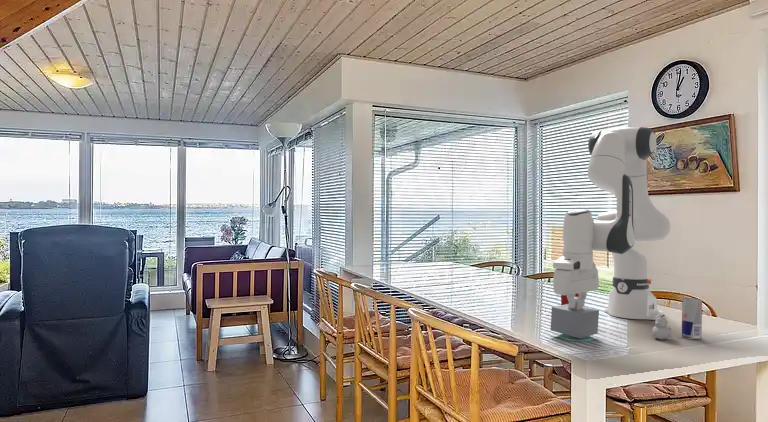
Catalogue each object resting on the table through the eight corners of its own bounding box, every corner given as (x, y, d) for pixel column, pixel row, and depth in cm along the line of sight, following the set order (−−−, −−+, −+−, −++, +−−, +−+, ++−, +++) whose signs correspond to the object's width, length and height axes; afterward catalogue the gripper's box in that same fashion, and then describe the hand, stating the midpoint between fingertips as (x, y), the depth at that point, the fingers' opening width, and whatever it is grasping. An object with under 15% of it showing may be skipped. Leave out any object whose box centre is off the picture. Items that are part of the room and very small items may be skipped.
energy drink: (680, 335, 168) (680, 297, 168) (699, 336, 166) (700, 298, 166) (683, 338, 163) (683, 300, 163) (703, 340, 161) (703, 301, 161)
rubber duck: (646, 338, 164) (647, 312, 164) (661, 336, 167) (662, 310, 167) (662, 342, 159) (662, 315, 159) (677, 340, 162) (677, 314, 162)
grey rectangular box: (568, 326, 171) (570, 293, 170) (597, 333, 163) (599, 299, 163) (550, 330, 164) (552, 296, 164) (580, 338, 157) (582, 303, 156)
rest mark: (570, 332, 170) (570, 331, 170) (599, 338, 163) (599, 337, 163) (552, 336, 164) (552, 336, 164) (582, 343, 156) (582, 342, 156)
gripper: (585, 259, 172) (585, 302, 172) (549, 263, 159) (549, 309, 159) (604, 261, 167) (603, 305, 167) (568, 264, 154) (568, 312, 154)
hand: (576, 307), depth 163 cm, fingers closed on grey rectangular box, 3 cm apart
